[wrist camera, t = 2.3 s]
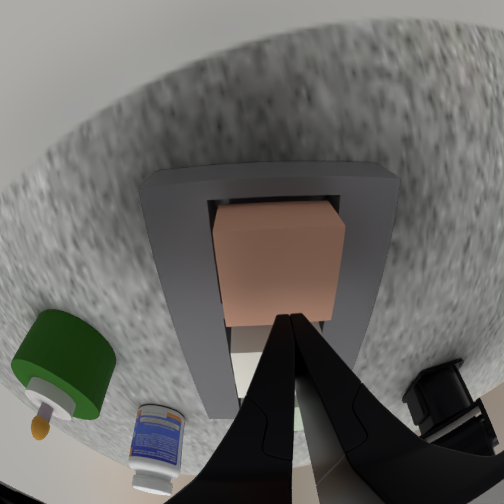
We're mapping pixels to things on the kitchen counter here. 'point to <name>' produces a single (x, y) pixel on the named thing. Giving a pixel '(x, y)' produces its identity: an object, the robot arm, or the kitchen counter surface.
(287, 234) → the key terracotta
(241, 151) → the kitchen counter surface
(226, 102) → the kitchen counter surface
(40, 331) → the candle
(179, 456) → the pill bottle
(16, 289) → the kitchen counter surface
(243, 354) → the key white
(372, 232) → the keypad
